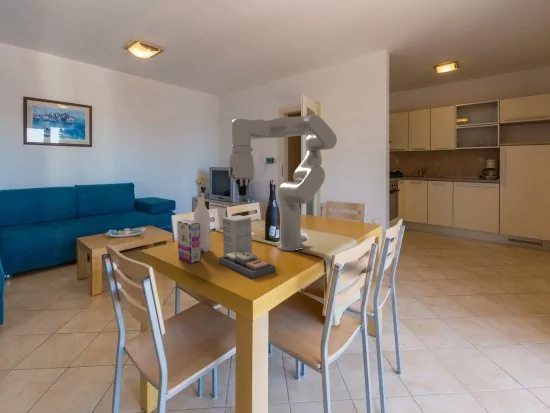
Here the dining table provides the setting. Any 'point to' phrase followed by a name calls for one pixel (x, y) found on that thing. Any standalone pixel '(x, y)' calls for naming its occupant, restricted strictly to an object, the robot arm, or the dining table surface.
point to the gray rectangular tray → (243, 268)
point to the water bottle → (203, 224)
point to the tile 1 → (232, 257)
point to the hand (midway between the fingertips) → (242, 195)
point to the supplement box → (237, 234)
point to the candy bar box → (189, 241)
